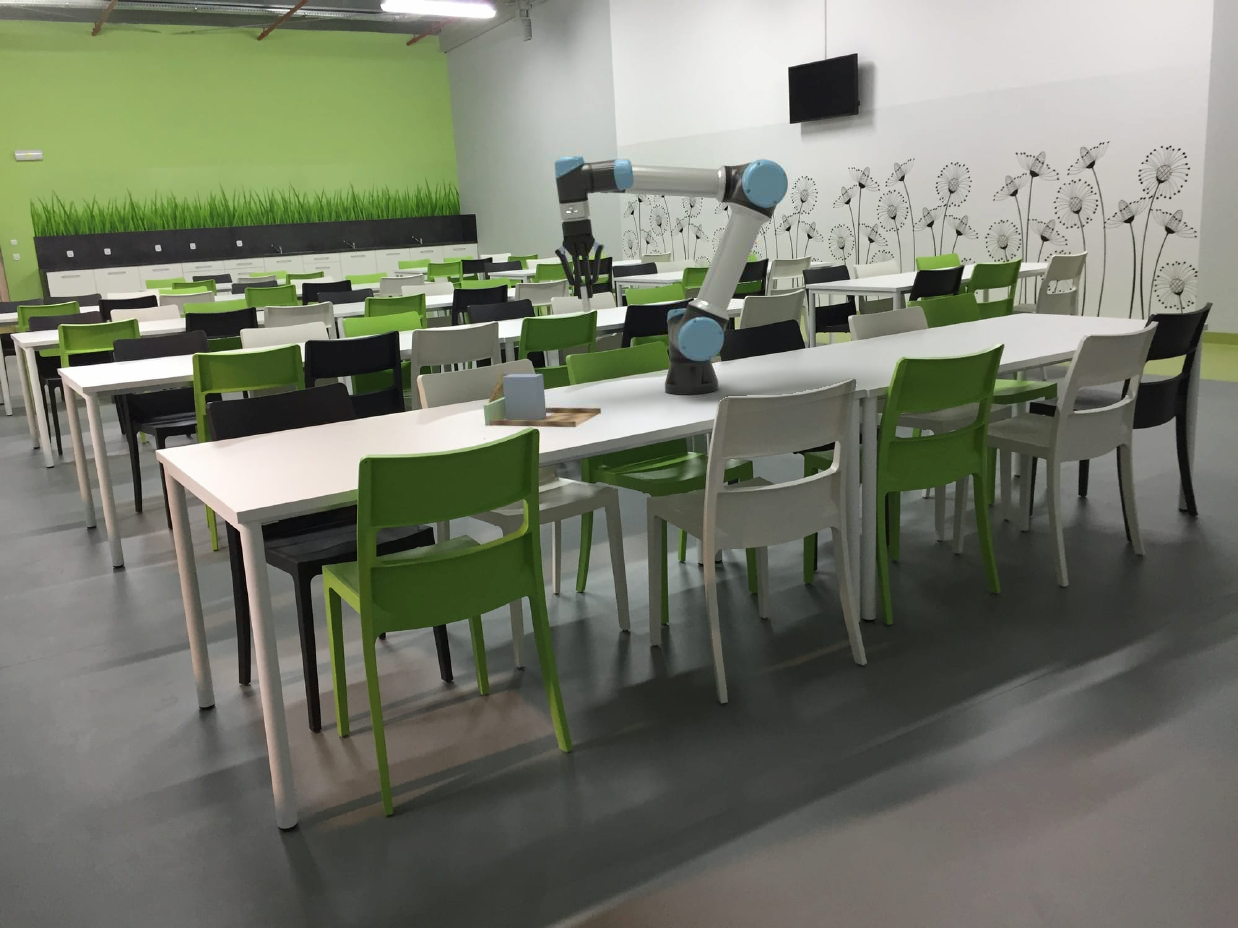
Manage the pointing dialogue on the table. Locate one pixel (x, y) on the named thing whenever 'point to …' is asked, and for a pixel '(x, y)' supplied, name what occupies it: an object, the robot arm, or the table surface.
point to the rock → (498, 390)
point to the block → (524, 397)
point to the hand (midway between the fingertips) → (587, 311)
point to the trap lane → (554, 418)
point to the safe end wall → (495, 410)
